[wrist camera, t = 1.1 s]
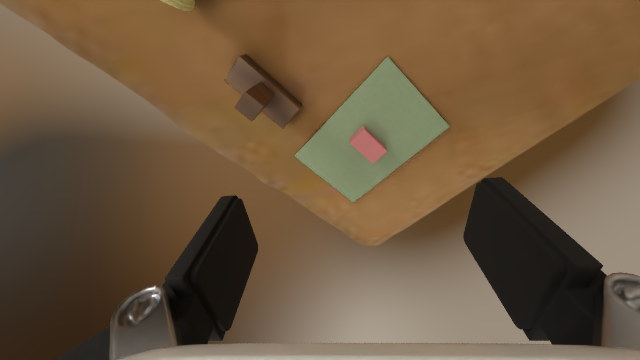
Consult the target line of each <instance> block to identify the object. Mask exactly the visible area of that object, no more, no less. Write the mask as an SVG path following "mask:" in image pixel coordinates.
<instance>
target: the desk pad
mask: <svg viewBox="0 0 640 360" xmlns="http://www.w3.org/2000/svg"><path fill="white" fill-rule="evenodd" d="M363 126H365V127H366V128H367V129H368V130H369V131H370V132H371V133H372V134H373V135H374V136H376V137H377V138H378V139H379V140H380V141H381V142H382V143H383V144H384V145H385V146H386V149H387V152H386V153H385V154H384V155H383V156H381V157H380V158H379V159H378V160H377V161H375V162H374V163H373V164H372V163H371V162H370V161H369V160H368V159H367V158H366V157H364V156H363V155H362V154H361V153H360V152H359V151H358V150H357V149H355V148H354V147H353V146H352V145H351V144H350V138H351V137H352V136H353V135H354V134H355V133H356V132H357V131H358V130H359V129H360V128H362V127H363ZM449 127H450V126H449V125H448V124H447V123H446V122H445V120H444V119H443V118H442V117H441V116H440V115H439V114H438V113H437V111H436V110H435V109H434V108H433V107H432V106H431V105H430V103H429V102H428V101H427V100H426V99H425V98H424V97H423V96H422V94H421V93H420V92H419V91H418V90H417V89H416V88H415V87H414V85H413V84H412V83H411V82H410V81H409V80H408V79H407V78H406V76H405V75H404V74H403V73H402V72H401V71H400V70H399V69H398V67H397V66H396V65H395V64H394V63H393V62H392V61H391V59H390V58H389V57H387V58H386V59H385V60H384V61H383V62H382V63H381V64H380V65H379V66H378V67H377V68H376V69H375V70H374V71H373V72H372V73H371V75H370V76H369V77H368V78H367V79H366V80H365V81H364V82H363V83H362V84H361V85H360V86H359V87H358V88H357V89H356V91H355V92H354V93H353V94H352V95H351V96H350V97H349V98H348V99H347V100H346V101H345V102H344V103H343V104H342V105H341V107H340V108H339V109H338V110H337V111H336V112H335V113H334V114H333V115H332V116H331V117H330V118H329V119H328V120H327V121H326V122H325V124H324V125H323V126H322V127H321V128H320V129H319V130H318V131H317V132H316V133H315V134H314V135H313V136H312V137H311V138H310V140H309V141H308V142H307V143H306V144H305V145H304V146H303V147H302V148H301V149H300V150H299V151H298V152H297V153H296V154H295V157H296V158H297V159H299V160H300V161H301V162H302V163H304V164H305V165H306V166H308V167H309V168H310V169H311V170H313V171H314V172H315V173H316V174H318V175H319V176H320V177H321V178H323V179H324V180H325V181H327V182H328V183H329V184H330V185H332V186H333V187H334V188H335V189H337V190H338V191H339V192H340V193H342V194H343V195H344V196H345V197H347V198H348V199H349V200H351V201H352V202H353V203H354V202H355V201H356V200H357V199H359V198H360V197H361V196H362V195H364V194H365V193H366V192H368V191H369V190H370V189H371V188H373V187H374V186H375V185H376V184H378V183H379V182H380V181H382V180H383V179H384V178H385V177H387V176H388V175H389V174H390V173H392V172H393V171H394V170H395V169H397V168H398V167H399V166H401V165H402V164H403V163H404V162H406V161H407V160H408V159H409V158H411V157H412V156H413V155H415V154H416V153H417V152H418V151H420V150H421V149H422V148H423V147H425V146H426V145H427V144H429V143H430V142H431V141H432V140H434V139H435V138H436V137H437V136H439V135H440V134H441V133H442V132H444V131H445V130H446V129H448V128H449Z"/></svg>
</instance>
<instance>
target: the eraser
mask: <svg viewBox="0 0 640 360" xmlns="http://www.w3.org/2000/svg"><path fill="white" fill-rule="evenodd" d="M350 144H351V145H352V146H353V147H354V148H355V149H357V150H358V151H359V152H360V153H361V154H362V155H363V156H364V157H366V158H367V159H368V160H369V161H370V162H371V163H372V164H373V163H374V162H375V161H377V160H378V159H379V158H380V157H381V156H383V155H384V154H385V153H386V152H387V149H386V146H385V145H384V144H383V143H382V142H381V141H380V140H379V139H378V138H377V137H376V136H374V135H373V134H372V133H371V132H370V131H369V130H368V129H367V128H366V127H365V126H363V127H362V128H360V129H359V130H358V131H357V132H356V133H355V134H354V135H353V136H352V137H351V138H350Z"/></svg>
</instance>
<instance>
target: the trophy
mask: <svg viewBox="0 0 640 360" xmlns="http://www.w3.org/2000/svg"><path fill="white" fill-rule="evenodd" d="M160 1H163V2H165V3H167V4H169V5H171V6H173V7H175V8H177V9H180V10H183V11H192V10H193V9H194V6H195V0H160Z"/></svg>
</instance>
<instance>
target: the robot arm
mask: <svg viewBox="0 0 640 360" xmlns="http://www.w3.org/2000/svg"><path fill="white" fill-rule="evenodd" d="M464 241H465V244H466V245H467V247H468V249H469V250H470V252H471V253H472V255H473V257H474V259H475V260H476V262H477V263H478V265H479V267H480V268H481V270H482V272H483V273H484V275H485V277H486V278H487V280H488V281H489V283H490V285H491V286H492V288H493V290H494V291H495V293H496V294H497V296H498V298H499V299H500V301H501V303H502V304H503V306H504V308H505V309H506V311H507V312H508V314H509V316H510V317H511V319H512V321H513V322H514V324H515V325H516V326H517V327H518V328H519V329H523V331H524V332H525V334H526V336H527V337H528V339H529V340H531V341H542V340H543V341H549V340H550V342H551V343H552V345H548V344H469V343H468V344H467V343H461V344H460V343H458V344H457V343H247V344H246V343H240V344H207V343H208V341H209V340H210V341H211V340H213V341H215V340H216V341H217V340H218V341H219V340H220V341H222V340H223V337H224V334H225V332H226V331H228V330H229V329H230V328H231V326H232V323H233V320H234V317H235V314H236V312H237V308H238V306H239V303H240V300H241V297H242V294H243V291H244V289H245V286H246V283H247V280H248V278H249V275H250V272H251V269H252V266H253V263H254V261H255V258H256V255H257V252H258V243H257V241H256V238H255V235H254V232H253V229H252V226H251V224H250V221H249V218H248V215H247V212H246V209H245V207H244V204H243V201H242V199H238V197H237V196H223V197H221V198H220V199H219V201H218V202H217V204H216V205H215V207H214V208H213V210H212V211H211V212H210V214H209V215H208V217H207V218H206V219H205V221H204V223H203V224H202V225H201V227H200V228H199V230H198V231H197V232H196V234H195V235H194V237H193V238H192V240H191V241H190V243H189V244H188V245H187V247H186V248H185V250H184V251H183V253H182V254H181V256H180V257H179V259H178V260H177V261H176V263H175V264H174V266H173V267H172V269H171V270H170V272H169V273H168V274H167V276H166V277H165V280H166V281H165V283H164V284H163V286H162V287H161V286H155V285H153V286H148V287H145V288H142V289H140V290H138V291H136V292H135V293H134V294H132V295H130V296H129V297H128V298H127V299H125V300H124V301H123V302H122V303H121V304H120V305H119V307H118V308H117V309H116V311H115V312H114V314H113V316H112V320H111V325H110V326H109V327H108V328H106V329H104V330H103V331H101V332H100V333H98V334H97V335H95V336H93V337H92V338H90V339H89V340H87V341H85V342H83V343H82V344H80V345H78V346H77V347H75V348H74V349H72V350H70V351H69V352H67V353H66V354H64V355H62V356H61V357H59V358H58V359H56V360H640V276H637V275H634V274H628V273H612V274H610V275H608V276H607V275H606V274H604V272H602V271H601V268H602V267H603V265H602V264H601V263H600V262H599V261H598V260H596V259H595V258H594V257H593V256H592V255H590V253H588V252H587V251H586V250H585V249H584V248H583V247H581V246H580V245H579V244H578V243H577V242H576V241H575V240H574V239H572V238H571V237H570V236H569V235H568V234H566V232H564V231H563V230H562V229H561V228H560V227H559V226H558V225H556V224H555V223H554V222H553V221H552V220H550V218H548V217H547V216H546V215H545V214H544V213H543V212H542V211H540V210H539V209H538V208H537V207H536V206H535V205H533V204H532V203H531V202H530V201H529V200H528V199H527V198H526V197H524V196H523V195H522V194H521V193H520V192H519V191H518V190H516V189H515V188H514V187H513V186H512V185H511V184H510V183H508V182H507V181H506V180H505V179H503V178H500V177H499V178H498V177H497V178H484V179H482V181H481V182H479V183H477V185H476V188H475V192H474V196H473V200H472V204H471V208H470V211H469V215H468V219H467V223H466V227H465V231H464Z"/></svg>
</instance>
